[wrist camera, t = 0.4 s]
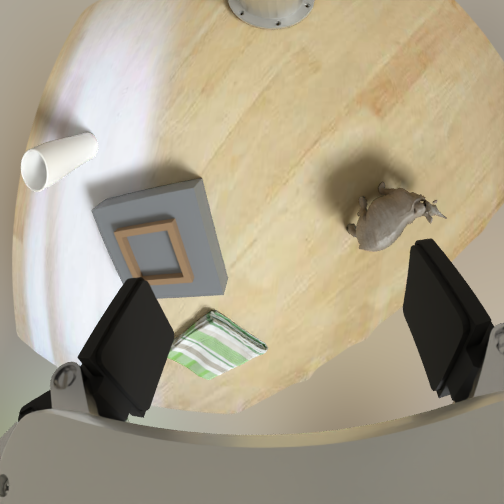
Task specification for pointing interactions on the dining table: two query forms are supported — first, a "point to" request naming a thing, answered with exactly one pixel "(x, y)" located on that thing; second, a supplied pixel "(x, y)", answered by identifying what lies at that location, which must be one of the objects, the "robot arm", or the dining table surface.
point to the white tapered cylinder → (56, 160)
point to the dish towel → (215, 346)
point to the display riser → (164, 239)
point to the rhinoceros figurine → (389, 217)
